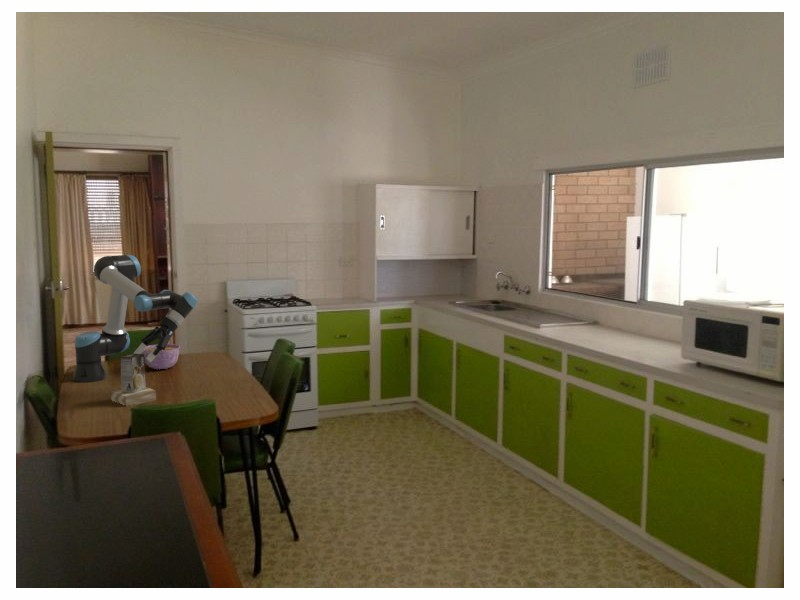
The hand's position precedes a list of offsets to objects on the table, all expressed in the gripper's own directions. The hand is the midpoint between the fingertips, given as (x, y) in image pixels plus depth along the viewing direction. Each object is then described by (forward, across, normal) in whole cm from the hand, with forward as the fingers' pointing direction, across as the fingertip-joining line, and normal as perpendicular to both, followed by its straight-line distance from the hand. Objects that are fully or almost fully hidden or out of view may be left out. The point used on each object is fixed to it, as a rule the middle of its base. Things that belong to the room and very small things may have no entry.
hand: (141, 358), depth 303 cm
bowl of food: (-10, +52, -37) cm, 65 cm away
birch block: (+17, +1, -11) cm, 20 cm away
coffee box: (+13, +1, -8) cm, 15 cm away
